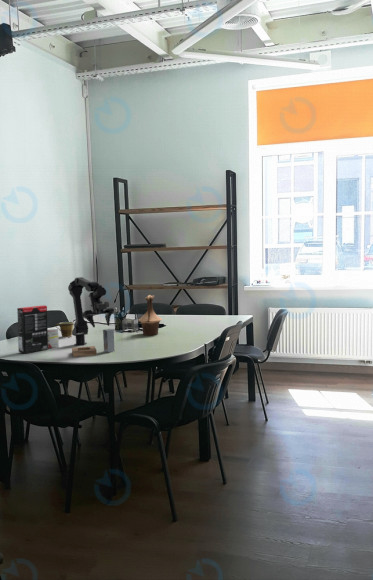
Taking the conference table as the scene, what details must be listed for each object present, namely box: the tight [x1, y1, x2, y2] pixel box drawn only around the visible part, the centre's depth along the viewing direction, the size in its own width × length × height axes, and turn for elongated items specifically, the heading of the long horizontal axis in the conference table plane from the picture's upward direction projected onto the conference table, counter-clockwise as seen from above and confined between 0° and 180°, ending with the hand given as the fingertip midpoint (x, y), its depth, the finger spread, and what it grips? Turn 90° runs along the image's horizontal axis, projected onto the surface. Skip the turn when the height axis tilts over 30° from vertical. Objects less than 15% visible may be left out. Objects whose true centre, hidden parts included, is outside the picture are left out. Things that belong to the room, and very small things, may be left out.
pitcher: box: [137, 294, 163, 336], centre depth 352 cm, size 18×17×28 cm
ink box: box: [47, 327, 60, 349], centre depth 313 cm, size 9×5×12 cm, turn 107°
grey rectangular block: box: [102, 328, 115, 353], centre depth 294 cm, size 4×4×13 cm
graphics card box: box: [16, 304, 49, 354], centre depth 301 cm, size 17×7×27 cm, turn 141°
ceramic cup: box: [55, 321, 75, 338], centre depth 352 cm, size 13×10×10 cm
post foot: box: [71, 345, 98, 358], centre depth 289 cm, size 13×13×3 cm
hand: (101, 326), depth 294 cm, fingers open, 9 cm apart
